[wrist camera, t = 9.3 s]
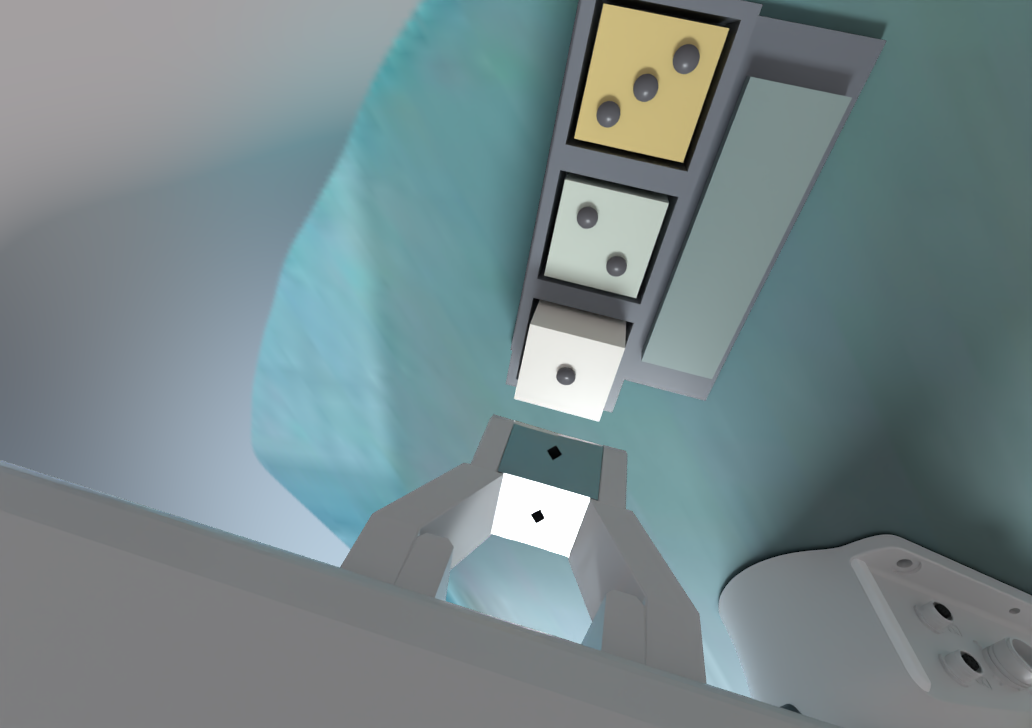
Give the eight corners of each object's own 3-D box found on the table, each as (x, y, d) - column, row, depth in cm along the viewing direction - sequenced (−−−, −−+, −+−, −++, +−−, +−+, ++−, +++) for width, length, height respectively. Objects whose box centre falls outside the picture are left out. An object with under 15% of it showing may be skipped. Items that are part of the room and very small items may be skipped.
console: (881, 41, 19) (933, 37, 16) (704, 395, 29) (713, 439, 26) (583, -18, 20) (573, -33, 17) (512, 345, 30) (497, 381, 27)
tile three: (715, 32, 19) (730, 28, 16) (676, 148, 22) (683, 163, 19) (608, 11, 20) (603, 3, 17) (582, 127, 22) (573, 139, 19)
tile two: (664, 185, 23) (669, 204, 20) (636, 270, 25) (636, 300, 22) (573, 164, 23) (564, 180, 20) (554, 250, 26) (543, 277, 22)
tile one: (626, 313, 24) (624, 350, 21) (603, 382, 27) (598, 424, 24) (542, 293, 25) (529, 325, 22) (526, 362, 27) (513, 401, 24)
